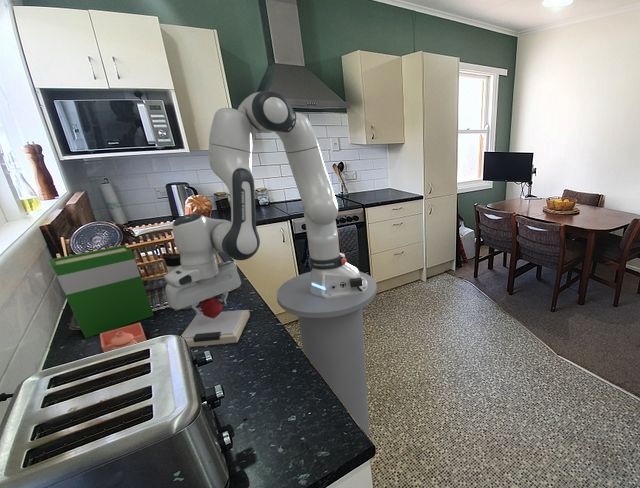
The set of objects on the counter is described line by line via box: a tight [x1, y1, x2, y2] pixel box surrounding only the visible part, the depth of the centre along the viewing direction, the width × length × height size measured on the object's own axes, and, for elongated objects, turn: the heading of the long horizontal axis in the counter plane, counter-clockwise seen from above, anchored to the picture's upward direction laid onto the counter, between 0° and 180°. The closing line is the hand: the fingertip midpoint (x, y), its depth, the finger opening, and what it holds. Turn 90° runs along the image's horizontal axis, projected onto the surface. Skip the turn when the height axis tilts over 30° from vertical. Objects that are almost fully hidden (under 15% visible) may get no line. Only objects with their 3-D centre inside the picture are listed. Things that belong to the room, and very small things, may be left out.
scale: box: [180, 309, 251, 348], centre depth 111 cm, size 16×16×3 cm
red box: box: [99, 321, 147, 353], centre depth 98 cm, size 18×10×10 cm, turn 43°
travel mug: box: [162, 253, 200, 311], centre depth 121 cm, size 6×7×20 cm
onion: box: [199, 297, 223, 319], centre depth 108 cm, size 6×6×8 cm
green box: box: [48, 244, 155, 339], centre depth 110 cm, size 18×7×24 cm, turn 141°
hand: (211, 309), depth 108 cm, fingers closed on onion, 6 cm apart
